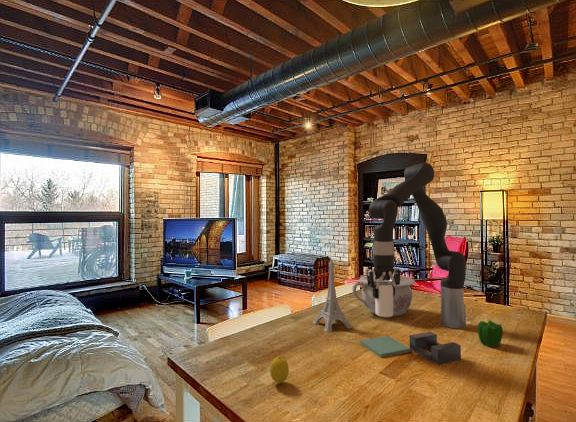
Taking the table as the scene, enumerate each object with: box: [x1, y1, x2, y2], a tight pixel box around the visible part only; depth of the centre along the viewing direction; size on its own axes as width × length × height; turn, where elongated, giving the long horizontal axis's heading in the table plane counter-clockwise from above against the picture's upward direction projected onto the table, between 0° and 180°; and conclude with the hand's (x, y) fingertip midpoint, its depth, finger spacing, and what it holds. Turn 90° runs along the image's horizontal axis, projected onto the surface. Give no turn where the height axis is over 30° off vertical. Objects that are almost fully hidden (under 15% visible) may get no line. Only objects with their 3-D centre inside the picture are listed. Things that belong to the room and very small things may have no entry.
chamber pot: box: [351, 274, 416, 318], centre depth 162 cm, size 28×28×21 cm
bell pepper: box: [476, 319, 504, 348], centre depth 122 cm, size 8×8×10 cm
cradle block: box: [409, 331, 462, 366], centre depth 114 cm, size 11×14×5 cm
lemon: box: [269, 356, 290, 385], centre depth 95 cm, size 6×6×8 cm
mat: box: [359, 335, 412, 358], centre depth 120 cm, size 13×13×1 cm
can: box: [374, 282, 393, 318], centre depth 120 cm, size 6×6×12 cm
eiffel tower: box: [312, 258, 353, 333], centre depth 145 cm, size 13×13×30 cm
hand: (384, 297), depth 120 cm, fingers closed on can, 6 cm apart
